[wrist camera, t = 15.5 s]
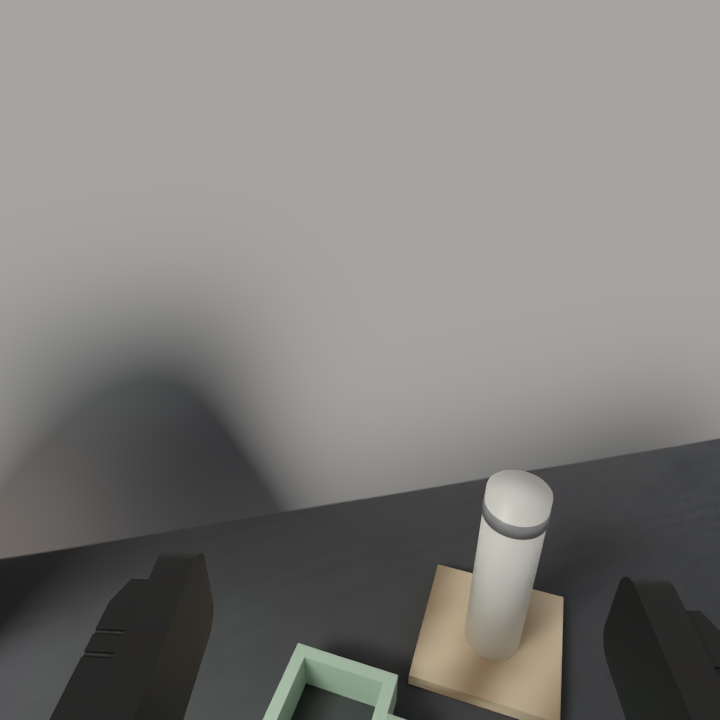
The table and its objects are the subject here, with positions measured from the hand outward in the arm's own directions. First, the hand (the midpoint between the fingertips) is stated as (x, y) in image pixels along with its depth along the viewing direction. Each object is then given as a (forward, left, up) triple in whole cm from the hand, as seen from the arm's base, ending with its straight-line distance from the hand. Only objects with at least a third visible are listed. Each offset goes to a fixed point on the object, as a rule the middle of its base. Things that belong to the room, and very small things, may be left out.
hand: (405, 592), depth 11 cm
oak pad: (+2, +21, -30) cm, 37 cm away
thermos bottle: (+3, +21, -29) cm, 36 cm away
